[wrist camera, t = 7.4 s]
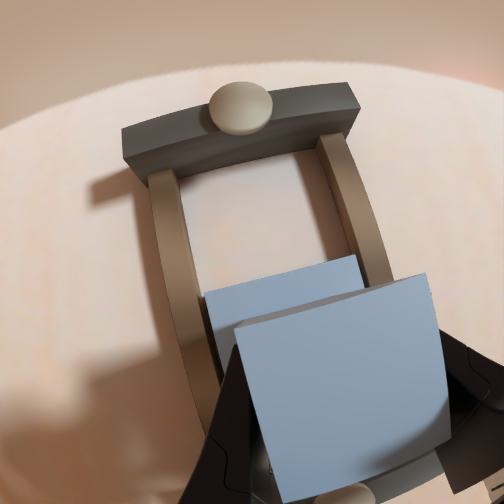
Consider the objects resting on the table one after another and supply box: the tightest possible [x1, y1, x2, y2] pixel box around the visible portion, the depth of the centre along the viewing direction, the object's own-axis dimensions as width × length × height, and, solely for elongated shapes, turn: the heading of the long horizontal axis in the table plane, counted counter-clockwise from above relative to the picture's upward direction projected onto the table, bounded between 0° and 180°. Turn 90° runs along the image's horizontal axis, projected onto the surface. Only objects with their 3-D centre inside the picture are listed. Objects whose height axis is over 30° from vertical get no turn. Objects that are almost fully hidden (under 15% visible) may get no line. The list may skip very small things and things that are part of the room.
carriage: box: [204, 254, 451, 503], centre depth 11 cm, size 8×8×10 cm
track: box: [121, 82, 444, 504], centre depth 14 cm, size 24×13×5 cm, turn 14°
